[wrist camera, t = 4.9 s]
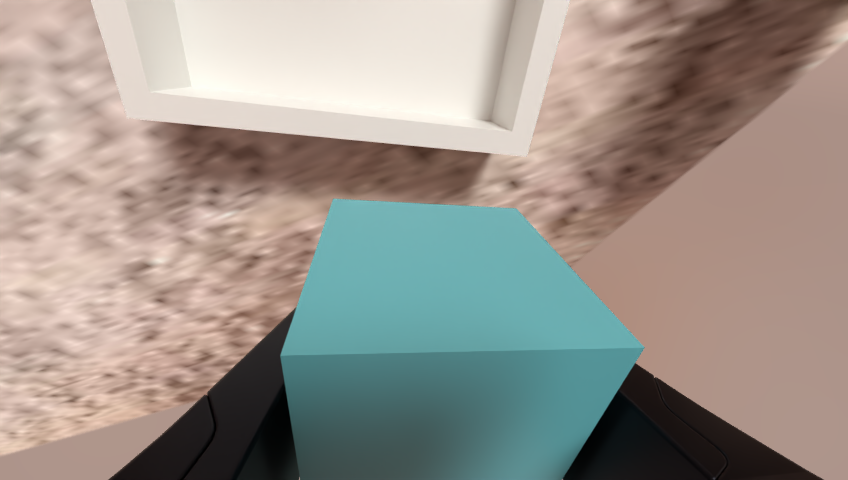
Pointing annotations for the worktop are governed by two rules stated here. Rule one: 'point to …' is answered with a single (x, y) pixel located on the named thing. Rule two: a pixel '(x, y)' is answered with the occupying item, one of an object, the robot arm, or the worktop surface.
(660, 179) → the worktop surface
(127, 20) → the grey tray
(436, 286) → the teal block
